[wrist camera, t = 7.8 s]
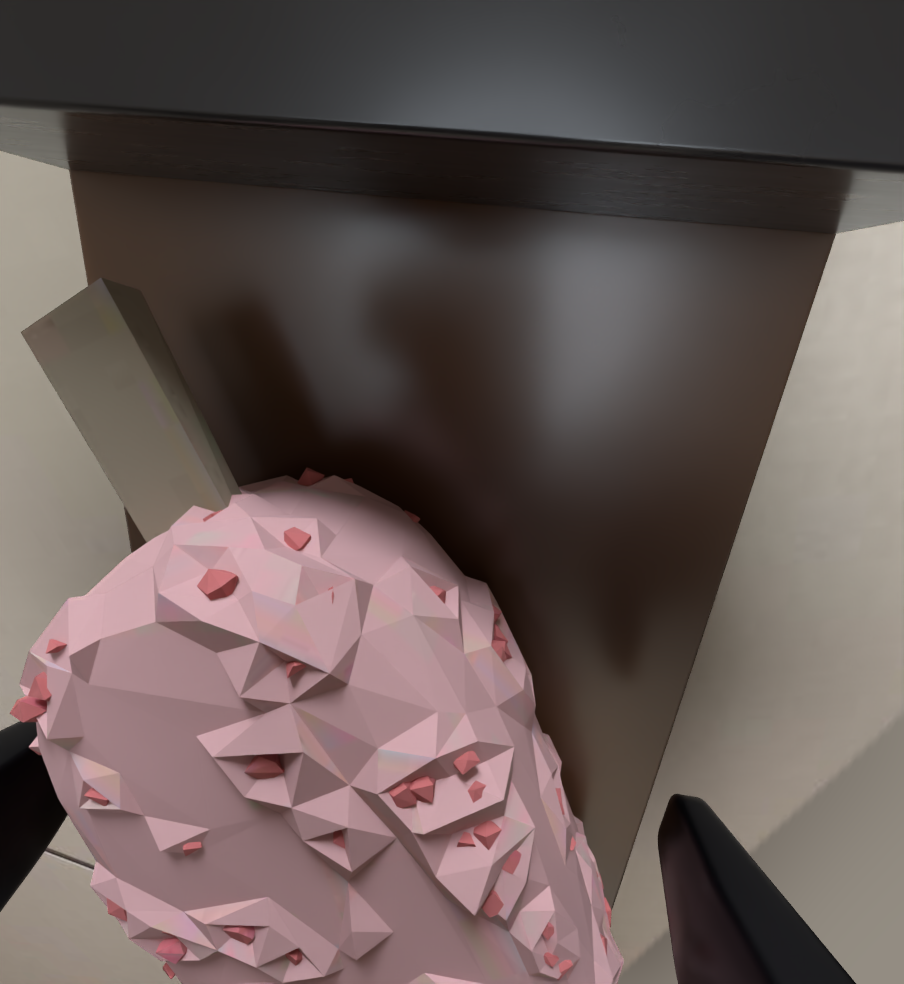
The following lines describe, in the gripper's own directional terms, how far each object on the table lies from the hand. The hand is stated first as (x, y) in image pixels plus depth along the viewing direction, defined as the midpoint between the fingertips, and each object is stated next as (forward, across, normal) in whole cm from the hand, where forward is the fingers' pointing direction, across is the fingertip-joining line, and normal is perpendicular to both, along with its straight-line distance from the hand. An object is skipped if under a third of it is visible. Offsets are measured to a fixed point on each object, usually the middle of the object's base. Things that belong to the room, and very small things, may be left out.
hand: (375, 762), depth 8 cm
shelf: (+5, 0, -17) cm, 18 cm away
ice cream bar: (+2, 0, 0) cm, 2 cm away
